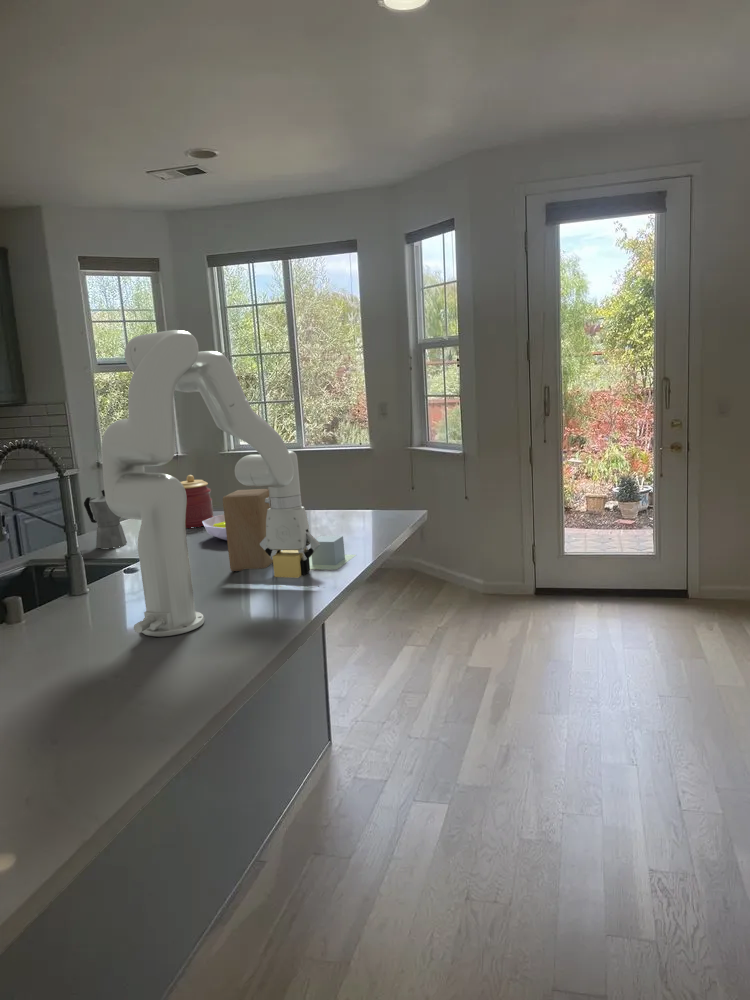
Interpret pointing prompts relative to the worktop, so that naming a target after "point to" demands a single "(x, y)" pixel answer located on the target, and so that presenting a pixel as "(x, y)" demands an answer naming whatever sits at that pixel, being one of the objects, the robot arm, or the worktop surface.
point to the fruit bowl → (216, 526)
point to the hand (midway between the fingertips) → (292, 573)
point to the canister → (197, 502)
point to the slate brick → (329, 550)
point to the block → (246, 528)
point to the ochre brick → (287, 564)
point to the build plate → (331, 567)
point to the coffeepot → (105, 523)
